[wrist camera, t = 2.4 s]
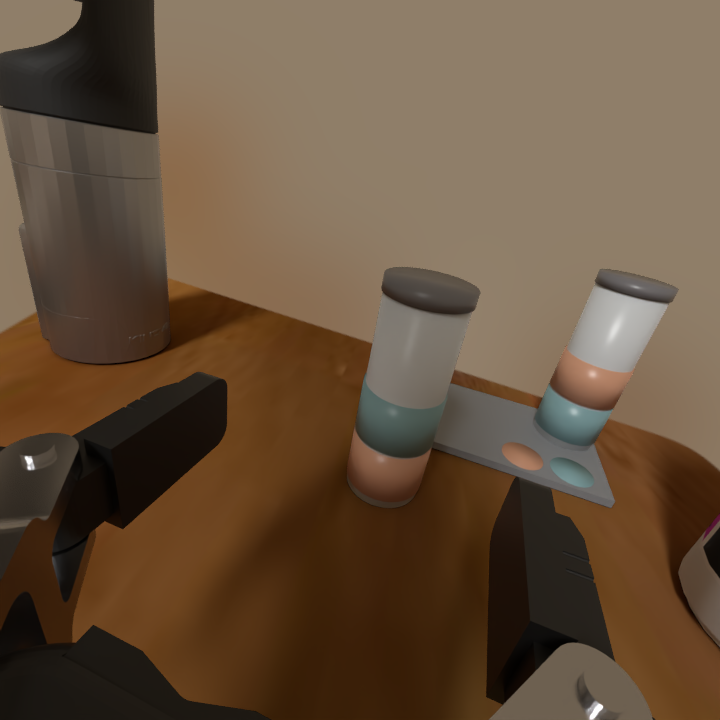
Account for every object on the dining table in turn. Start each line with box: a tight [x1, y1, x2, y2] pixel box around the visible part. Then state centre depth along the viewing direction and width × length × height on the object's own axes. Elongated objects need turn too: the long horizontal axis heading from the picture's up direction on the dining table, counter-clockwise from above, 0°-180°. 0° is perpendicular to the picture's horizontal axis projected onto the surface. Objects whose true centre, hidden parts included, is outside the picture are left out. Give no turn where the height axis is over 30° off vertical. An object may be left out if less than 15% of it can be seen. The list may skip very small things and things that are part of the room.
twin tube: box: [533, 269, 678, 451], centre depth 30 cm, size 5×5×13 cm
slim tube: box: [347, 267, 480, 508], centre depth 22 cm, size 5×5×13 cm
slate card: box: [432, 383, 615, 508], centre depth 32 cm, size 14×10×1 cm
